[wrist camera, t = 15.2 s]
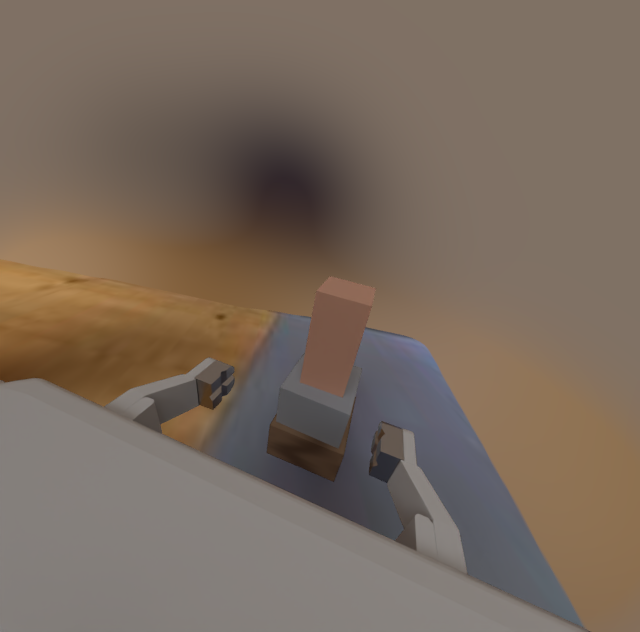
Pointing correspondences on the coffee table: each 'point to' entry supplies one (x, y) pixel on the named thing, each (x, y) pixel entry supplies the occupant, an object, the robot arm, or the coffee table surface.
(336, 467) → the tower base
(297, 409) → the tower top
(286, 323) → the coffee table surface
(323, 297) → the terracotta block
